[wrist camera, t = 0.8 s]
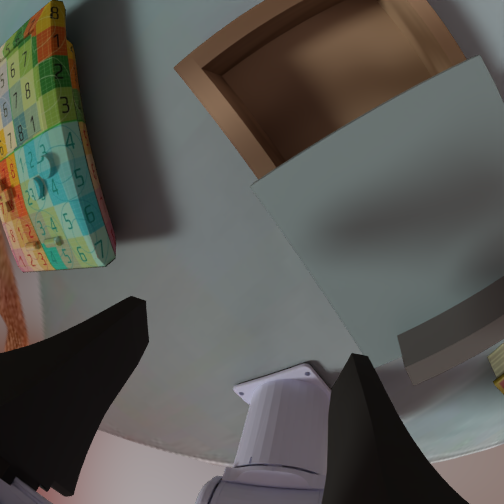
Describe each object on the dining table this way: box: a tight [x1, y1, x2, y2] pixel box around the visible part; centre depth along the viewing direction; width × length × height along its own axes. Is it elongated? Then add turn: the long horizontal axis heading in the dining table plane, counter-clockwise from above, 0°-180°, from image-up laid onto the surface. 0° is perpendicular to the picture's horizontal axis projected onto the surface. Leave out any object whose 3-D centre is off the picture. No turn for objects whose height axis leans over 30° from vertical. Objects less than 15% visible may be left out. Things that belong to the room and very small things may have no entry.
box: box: [174, 0, 467, 179], centre depth 12 cm, size 12×12×4 cm
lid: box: [250, 55, 504, 386], centre depth 11 cm, size 12×12×3 cm
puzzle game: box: [0, 0, 116, 272], centre depth 17 cm, size 12×5×20 cm
